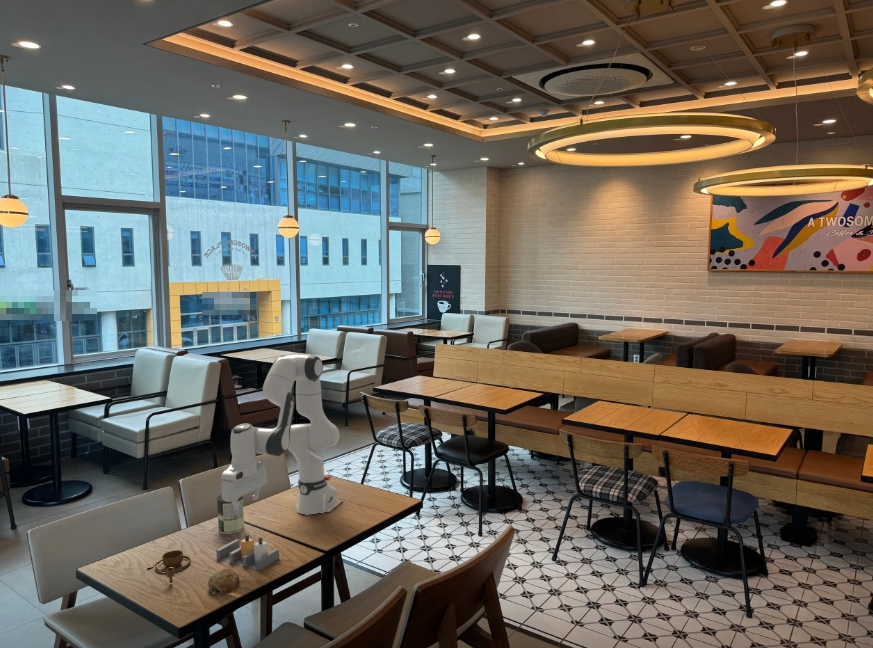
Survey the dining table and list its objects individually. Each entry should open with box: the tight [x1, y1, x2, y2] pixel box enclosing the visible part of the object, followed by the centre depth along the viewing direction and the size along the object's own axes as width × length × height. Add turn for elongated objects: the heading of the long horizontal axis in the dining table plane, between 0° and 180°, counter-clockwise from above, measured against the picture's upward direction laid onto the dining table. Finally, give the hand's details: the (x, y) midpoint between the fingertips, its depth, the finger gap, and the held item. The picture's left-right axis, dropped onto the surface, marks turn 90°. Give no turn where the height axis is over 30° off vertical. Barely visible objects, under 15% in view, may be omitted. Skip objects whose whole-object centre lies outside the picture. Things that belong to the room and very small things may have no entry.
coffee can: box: [216, 494, 245, 535], centre depth 253 cm, size 10×10×14 cm
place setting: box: [154, 549, 191, 584], centre depth 218 cm, size 18×20×6 cm
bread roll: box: [207, 568, 240, 595], centre depth 206 cm, size 10×10×8 cm
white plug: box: [254, 536, 269, 563], centre depth 221 cm, size 3×4×9 cm
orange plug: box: [240, 533, 255, 560], centre depth 224 cm, size 3×4×9 cm
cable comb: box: [215, 539, 280, 571], centre depth 225 cm, size 10×21×4 cm, turn 63°
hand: (246, 504), depth 227 cm, fingers open, 8 cm apart
